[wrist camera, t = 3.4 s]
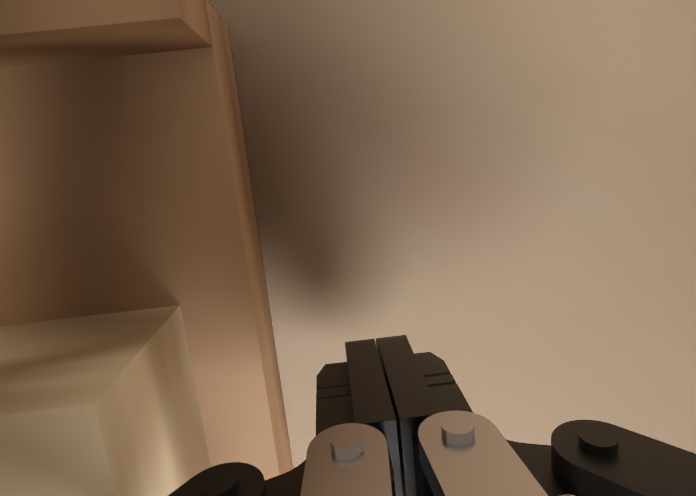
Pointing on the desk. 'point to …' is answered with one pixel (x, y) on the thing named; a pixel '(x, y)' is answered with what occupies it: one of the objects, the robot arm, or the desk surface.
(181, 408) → the birch block
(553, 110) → the desk surface
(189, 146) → the tray
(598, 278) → the desk surface
